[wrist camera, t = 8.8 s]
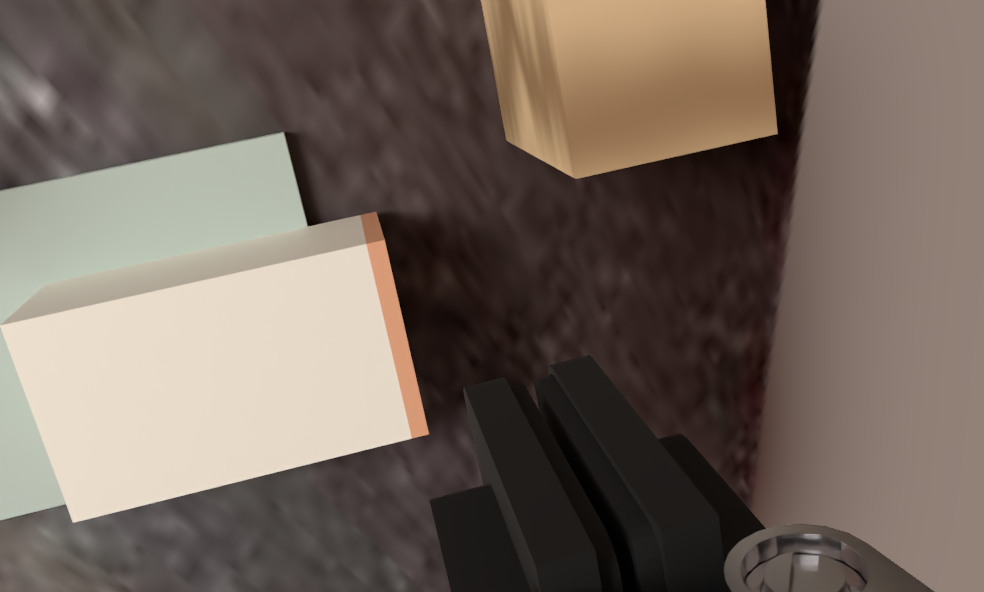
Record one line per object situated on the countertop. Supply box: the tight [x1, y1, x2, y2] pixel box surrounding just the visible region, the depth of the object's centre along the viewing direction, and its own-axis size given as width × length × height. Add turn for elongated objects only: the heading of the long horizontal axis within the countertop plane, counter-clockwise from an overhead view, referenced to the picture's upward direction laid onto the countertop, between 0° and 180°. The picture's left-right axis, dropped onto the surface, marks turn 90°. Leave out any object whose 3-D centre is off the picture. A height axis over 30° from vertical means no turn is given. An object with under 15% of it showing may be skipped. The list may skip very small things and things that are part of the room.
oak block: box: [481, 0, 778, 179], centre depth 29 cm, size 6×6×10 cm
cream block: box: [0, 212, 429, 523], centre depth 32 cm, size 7×5×12 cm
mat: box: [0, 132, 308, 520], centre depth 34 cm, size 12×16×1 cm
